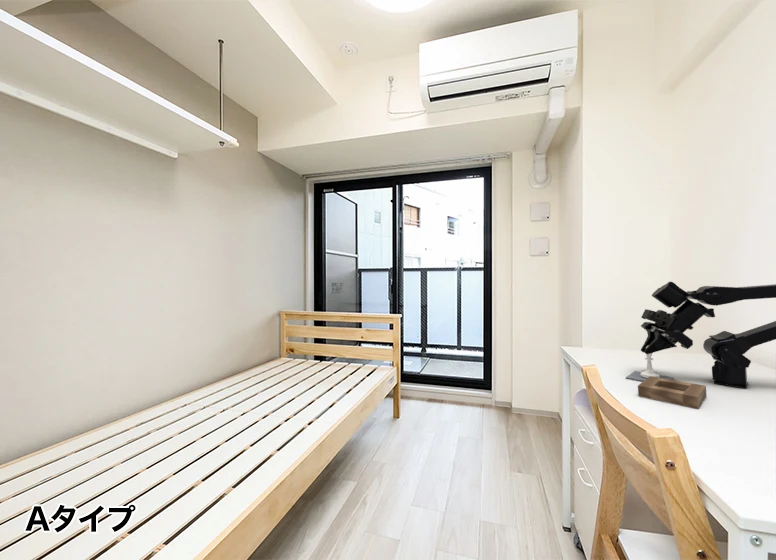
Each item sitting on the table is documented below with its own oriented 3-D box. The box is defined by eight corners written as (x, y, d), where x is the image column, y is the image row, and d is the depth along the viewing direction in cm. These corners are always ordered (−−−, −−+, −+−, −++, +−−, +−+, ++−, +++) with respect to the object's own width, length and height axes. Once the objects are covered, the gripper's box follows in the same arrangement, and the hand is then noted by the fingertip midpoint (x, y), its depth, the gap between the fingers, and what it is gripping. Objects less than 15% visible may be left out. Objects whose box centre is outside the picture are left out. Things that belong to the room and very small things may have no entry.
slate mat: (673, 378, 99) (673, 377, 99) (665, 386, 93) (665, 384, 93) (635, 372, 107) (635, 370, 107) (625, 378, 101) (625, 377, 101)
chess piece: (647, 378, 98) (646, 347, 98) (636, 374, 103) (634, 344, 103) (664, 378, 98) (662, 346, 98) (652, 373, 102) (650, 343, 103)
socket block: (706, 396, 84) (706, 385, 84) (698, 409, 77) (697, 397, 77) (650, 386, 94) (649, 376, 94) (638, 396, 87) (637, 385, 87)
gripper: (645, 298, 108) (611, 330, 111) (676, 302, 90) (634, 340, 94) (675, 320, 106) (638, 352, 109) (713, 329, 88) (668, 366, 91)
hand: (643, 352), depth 101 cm, fingers closed on chess piece
